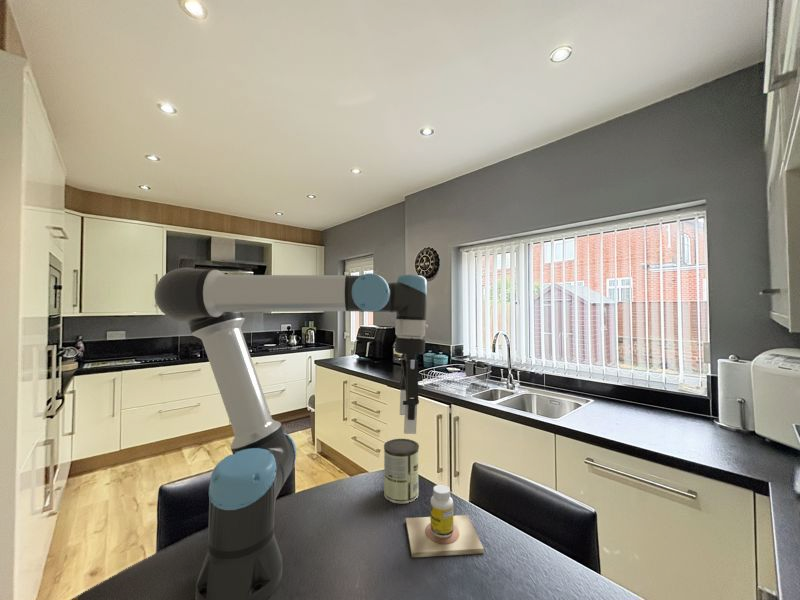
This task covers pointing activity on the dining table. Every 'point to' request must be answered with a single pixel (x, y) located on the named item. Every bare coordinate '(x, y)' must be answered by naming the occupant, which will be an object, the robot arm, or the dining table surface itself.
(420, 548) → the board
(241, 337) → the robot arm
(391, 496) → the coffee can
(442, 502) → the supplement bottle
